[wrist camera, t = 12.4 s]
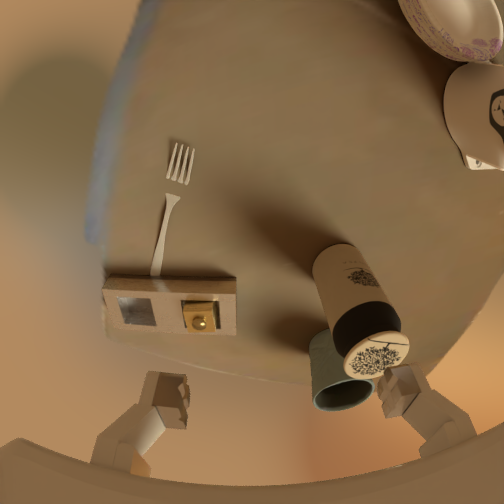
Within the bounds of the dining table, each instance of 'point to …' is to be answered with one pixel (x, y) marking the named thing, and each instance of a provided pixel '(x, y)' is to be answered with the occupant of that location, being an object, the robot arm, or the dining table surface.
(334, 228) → the dining table surface
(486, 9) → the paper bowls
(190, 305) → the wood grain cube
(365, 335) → the travel mug
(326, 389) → the green cup
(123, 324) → the tan windowed box
